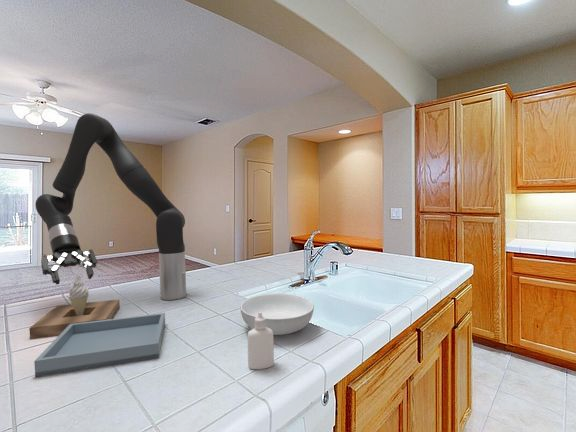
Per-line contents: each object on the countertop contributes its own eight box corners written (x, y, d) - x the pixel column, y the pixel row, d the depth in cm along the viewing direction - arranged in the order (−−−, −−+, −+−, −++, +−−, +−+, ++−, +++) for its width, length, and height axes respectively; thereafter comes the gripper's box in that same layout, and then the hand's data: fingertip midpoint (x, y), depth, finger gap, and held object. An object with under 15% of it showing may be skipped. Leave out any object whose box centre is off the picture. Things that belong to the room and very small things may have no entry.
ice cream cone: (80, 325, 90) (77, 275, 89) (65, 324, 91) (63, 275, 90) (94, 319, 95) (91, 271, 94) (80, 317, 96) (78, 271, 95)
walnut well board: (119, 308, 104) (119, 299, 104) (105, 329, 87) (105, 319, 87) (57, 314, 99) (57, 305, 99) (30, 338, 82) (29, 327, 81)
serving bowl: (289, 352, 73) (289, 324, 73) (225, 333, 84) (224, 308, 84) (326, 322, 91) (326, 299, 90) (268, 309, 102) (268, 289, 101)
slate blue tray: (165, 324, 90) (164, 312, 90) (158, 357, 71) (158, 343, 71) (70, 336, 83) (70, 323, 83) (35, 377, 64) (34, 361, 64)
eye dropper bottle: (253, 358, 70) (252, 307, 70) (276, 362, 69) (275, 310, 68) (245, 368, 66) (244, 314, 66) (269, 372, 65) (268, 317, 64)
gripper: (38, 235, 95) (47, 277, 88) (90, 231, 105) (102, 269, 98) (35, 250, 99) (44, 292, 92) (86, 245, 109) (98, 282, 102)
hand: (74, 280), depth 95 cm, fingers open, 8 cm apart
